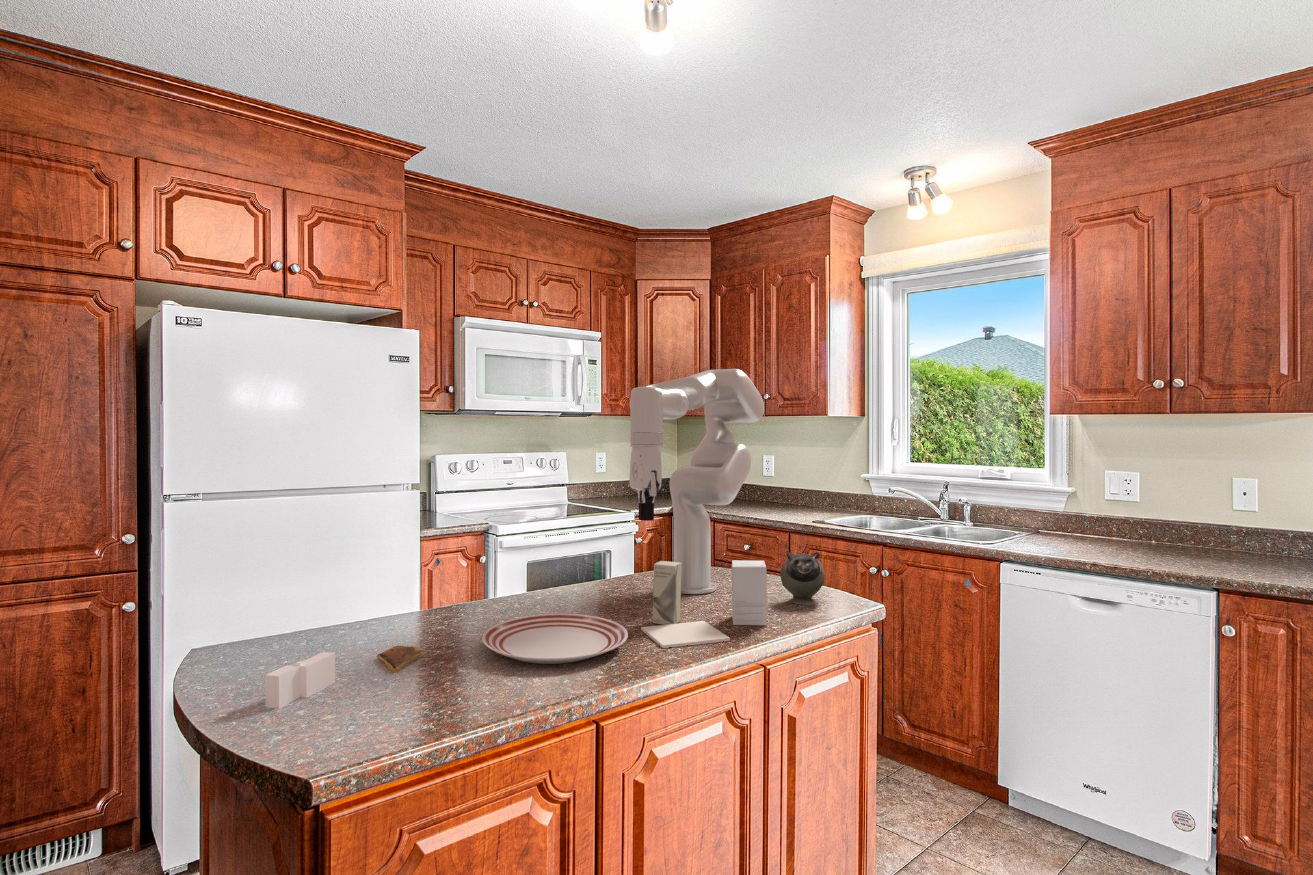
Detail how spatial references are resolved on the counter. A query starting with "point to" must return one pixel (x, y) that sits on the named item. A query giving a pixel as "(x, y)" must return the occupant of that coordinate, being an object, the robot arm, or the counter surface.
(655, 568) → the box
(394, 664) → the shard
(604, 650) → the dinner plate
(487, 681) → the counter surface
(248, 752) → the counter surface
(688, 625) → the beige flat slab
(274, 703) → the pink notched block
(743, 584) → the supplement box
